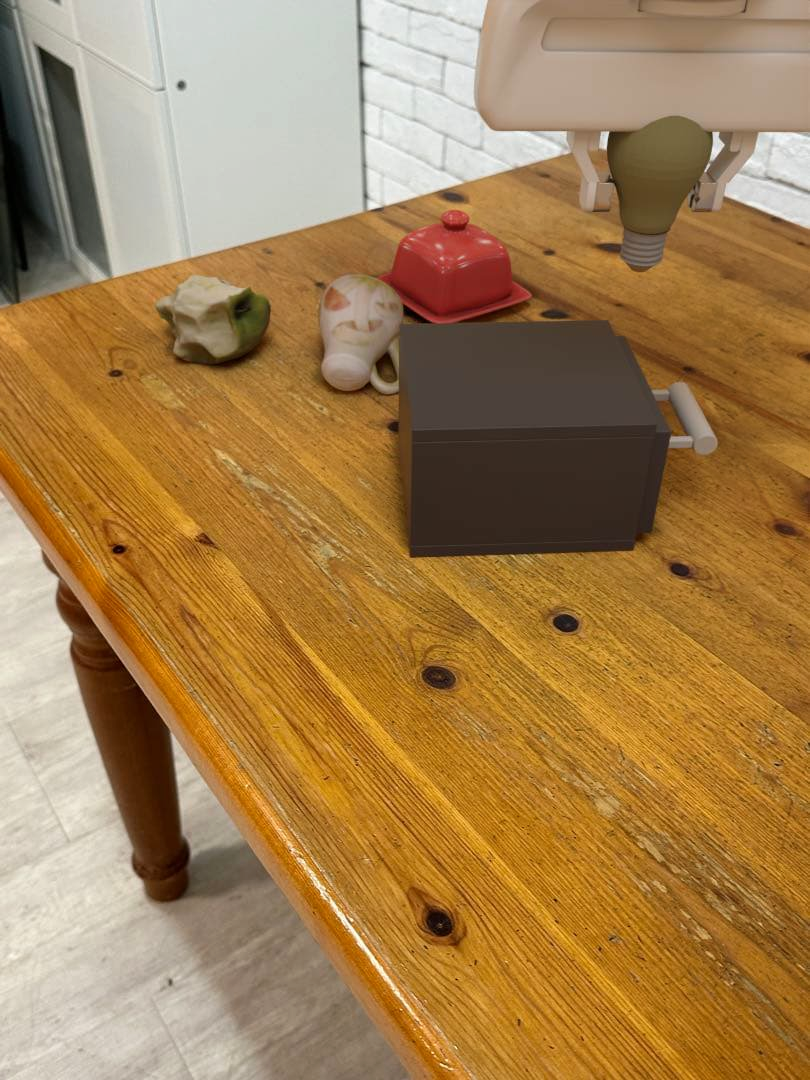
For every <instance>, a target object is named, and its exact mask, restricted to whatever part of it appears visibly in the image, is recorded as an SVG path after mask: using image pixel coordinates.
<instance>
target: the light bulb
mask: <svg viewBox="0 0 810 1080" xmlns="http://www.w3.org/2000/svg"><path fill="white" fill-rule="evenodd" d="M713 147H714V132H707V131H705V130H703V129H702V128H701V126H700V125H699V124H698V123H696V122H694V121H692V120H690V119H688V118H685V117H682V116H668V117H664V118H661V119H658V120H656V121H653V122H651V123H649V124H648V125H646V126H645V127H643V128H641V129H640V130H637V131H633V132H608V135H607V141H606V159H607V160H606V161H607V165H608V170H609V174H610V177H611V179H612V180H613V181H614V189H615V191H616V195H617V198H618V212H619V213H618V214H619V218H620V222H621V225H622V227H623V229H622V236H623V237H622V239H621V242H622V243H621V244H620V254H619V257H620V259H621V260H622V261H623V262H624V263H625V264H626V265H627V266H628V267H629V269H630V270H631V271H633V272H634V273H635V272H636V273H646V272H647V271H649V270H651V269H652V268H653V267H655V266H657V265H659V264H660V263H661V262H662V261H663V256H664V250H665V244H666V242H667V237H668V233H669V231H671V227H672V226H673V225H674V223H675V221H676V219H677V216H678V213H679V211H680V209H681V207H682V205H683V204H684V201H686V200H687V196H688V194H689V193H690V192H691V190H692V189H693V188H694V186H695V185H696V183H697V182H698V181H699V179H700V178H701V176H702V174H703V173H704V172H706V170H707V168H708V164H709V162H710V160H711V155H712V151H713Z"/></svg>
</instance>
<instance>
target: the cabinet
mask: <svg viewBox="0 0 810 1080" xmlns="http://www.w3.org/2000/svg"><path fill="white" fill-rule="evenodd" d="M616 336H617V335H616V333H615V331H614V329H613V326H612V325H611V322H610V320H609V319H598V320H597V319H596V320H595V319H593V320H592V319H591V320H590V319H589V320H588V319H587V320H541V321H540V320H539V321H536V320H535V321H493V322H492V321H488V322H487V321H485V322H484V321H482V322H481V321H480V322H457V323H432V322H429V323H427V322H425V323H424V322H423V323H403V324H399V391H398V412H397V413H398V420H397V425H398V427H397V428H398V429H397V435H398V436H397V443H398V444H397V445H398V453H399V462H400V472H401V482H402V491H403V492H402V494H403V502H404V511H405V521H406V532H407V541H408V552H409V557H410V558H426V557H427V558H429V557H460V556H461V557H462V556H463V557H464V556H493V555H494V556H495V555H526V554H557V553H559V554H561V553H590V552H623V551H628V552H629V551H634V550H635V545H636V539H637V534H638V533H637V529H638V523H639V518H640V513H641V507H642V502H643V497H644V491H645V486H646V481H647V475H648V470H649V465H650V459H651V454H652V449H653V443H654V438H655V433H656V428H657V423H656V421H655V419H654V416H653V414H652V412H651V410H650V408H649V406H648V404H647V401H646V399H645V397H644V395H643V393H642V391H641V389H640V386H639V384H638V382H637V380H636V378H635V376H634V374H633V372H632V369H631V367H630V365H629V363H628V361H627V359H626V357H625V354H624V352H623V350H622V348H621V346H620V344H619V342H618V339H617V337H616Z"/></svg>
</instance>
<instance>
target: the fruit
mask: <svg viewBox="0 0 810 1080" xmlns="http://www.w3.org/2000/svg"><path fill="white" fill-rule="evenodd" d="M173 291H174V292H173V293H172V294H171V295H166V296H163V297H161V298H160V299H159V300H158V301H155V306H154V307H155V310H156V311H157V313H158V315H159V317H160V319H163V320H165V321H166V322H167V323H168V324H169V327H170V331H171V333H172V335H173V336H174V337H175V341H174V345H173V349H172V355H174V356H176V357H177V358H179V359H181V360H184V361H186V362H190V363H192V364H193V363H194V364H199V365H200V364H201V365H218V364H222V363H225V362H228V361H231V360H235V359H237V358H240V357H242V356H244V355H246V354H248V353H249V352H251V351H252V350H254V349H255V347H256V346H257V345H258V344H259V343H261V341H262V340H263V338H264V336H265V333H266V332H267V330H268V327H269V325H270V319H271V313H272V306H271V303H270V301H269V299H268V297H266V296H265V294H262V293H256V292H255V291H252V287H251V286H249V285H246V287H238V286H235V285H232V284H231V283H230V282H229V281H227V280H224V279H219V278H218V277H217V276H211V277H207V276H203V275H201V274H194V275H193V274H192V275H189V276H188V277H187V278H186V280H185V281H184V282H183V283H179V284H178V285H177V286H176V288H175V289H174V290H173Z"/></svg>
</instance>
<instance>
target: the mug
mask: <svg viewBox="0 0 810 1080" xmlns="http://www.w3.org/2000/svg"><path fill="white" fill-rule="evenodd" d="M404 312H405V311H404V304H403V303H402V301H401V299H400V297H399V296H398V294H397V293H396V292H395V291H394V290H393V289H392V288H391V287H390V286H389V285H387V284H386V283H384V282H383V281H381V280H379V279H377V277H373V276H371V275H366V274H359V273H358V274H357V273H356V274H354V273H353V274H345V275H341V276H339V277H338V278H336V279H334V280H332V281H331V282H330V284H329V285H327V287H326V288H325V290H324V291H323V294H322V295H321V298H320V301H319V304H318V308H317V322H318V329H319V332H320V336H321V340H322V343H323V346H324V354H323V358H322V362H321V365H320V370H321V374H322V377H323V378H324V380H325V381H326V382H327V383H328V384H329V385H330V386H331V387H333V388H335V389H337V390H339V391H343V392H352V391H357V390H360V389H362V388H363V387H365V385H366V384H368V383H370V384H371V385H372V387H373V388H374V389H376V391H378V393H380V394H382V395H393V394H397V393H399V324H404V317H405V315H404V314H405V313H404ZM386 353H388V355H389V357H390V359H391V362H392V364H393V367H394V370H395V374H396V381H395V382H392V383H390V382H386V381H384V380H382V378H380V376H379V373H378V369H377V366H376V363H377V362H378V361H379V360H380V359H382V357H383V356H384V355H385V354H386Z"/></svg>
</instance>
